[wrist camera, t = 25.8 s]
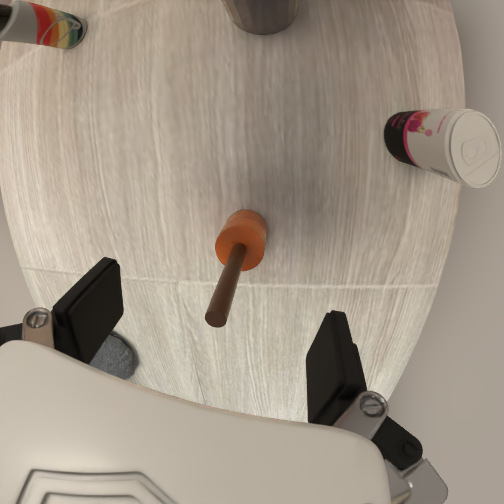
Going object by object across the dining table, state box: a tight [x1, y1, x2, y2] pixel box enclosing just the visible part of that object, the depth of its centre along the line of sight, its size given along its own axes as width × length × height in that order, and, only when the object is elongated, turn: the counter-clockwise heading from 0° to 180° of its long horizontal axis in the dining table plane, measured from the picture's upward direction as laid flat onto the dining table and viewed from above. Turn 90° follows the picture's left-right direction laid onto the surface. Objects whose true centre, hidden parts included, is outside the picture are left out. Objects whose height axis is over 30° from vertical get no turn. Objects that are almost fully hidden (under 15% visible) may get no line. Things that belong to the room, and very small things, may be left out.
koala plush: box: [89, 335, 135, 380], centre depth 41 cm, size 17×18×20 cm
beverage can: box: [384, 109, 502, 188], centre depth 21 cm, size 7×6×15 cm
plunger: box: [205, 210, 267, 328], centre depth 27 cm, size 5×5×18 cm
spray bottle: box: [0, 0, 87, 49], centre depth 15 cm, size 6×6×20 cm
